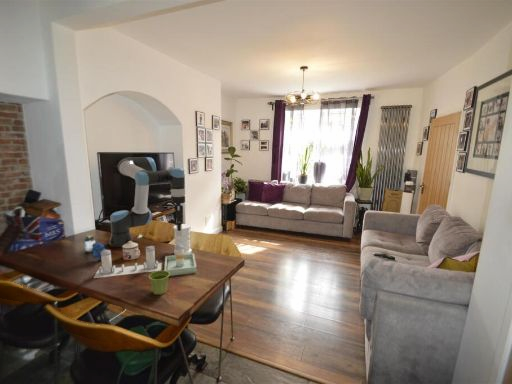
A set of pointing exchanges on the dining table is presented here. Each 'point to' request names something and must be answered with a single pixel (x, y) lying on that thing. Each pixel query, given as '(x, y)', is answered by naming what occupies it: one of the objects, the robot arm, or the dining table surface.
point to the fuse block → (109, 271)
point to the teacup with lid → (130, 251)
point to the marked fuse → (179, 255)
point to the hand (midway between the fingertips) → (179, 232)
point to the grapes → (97, 250)
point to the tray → (186, 269)
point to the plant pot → (159, 281)
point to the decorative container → (183, 238)
